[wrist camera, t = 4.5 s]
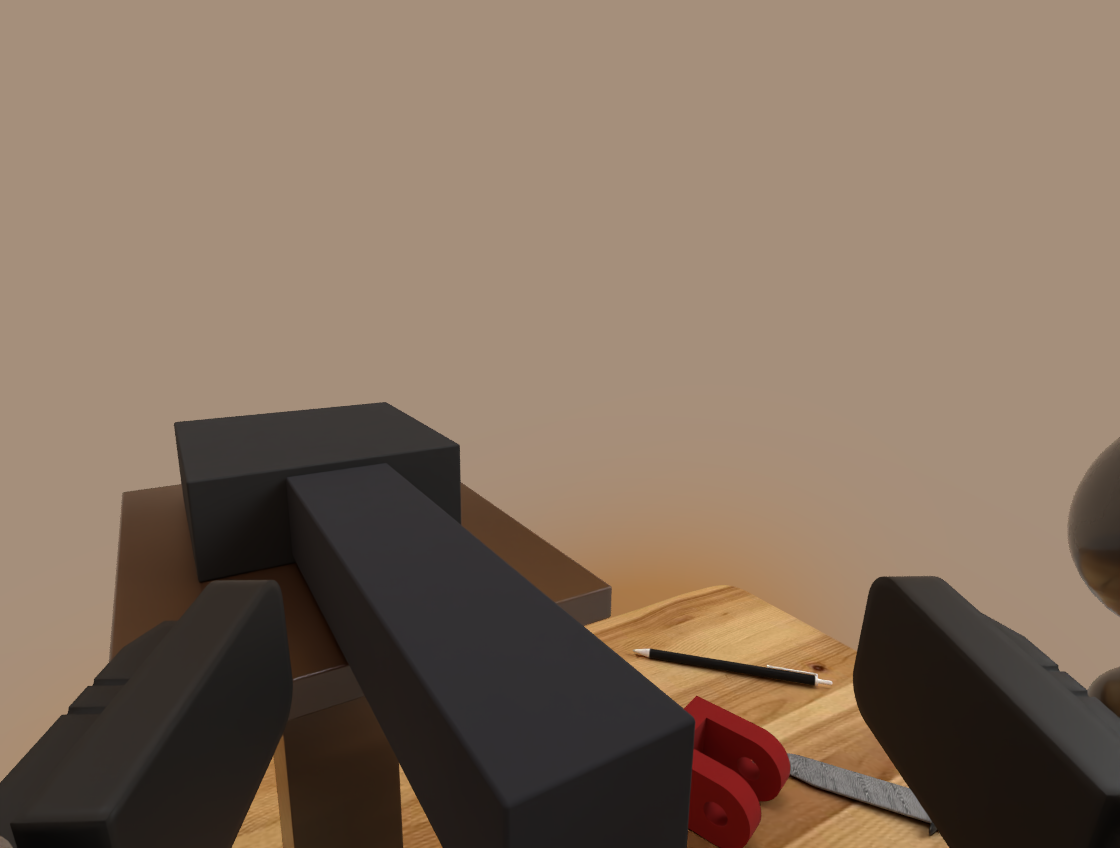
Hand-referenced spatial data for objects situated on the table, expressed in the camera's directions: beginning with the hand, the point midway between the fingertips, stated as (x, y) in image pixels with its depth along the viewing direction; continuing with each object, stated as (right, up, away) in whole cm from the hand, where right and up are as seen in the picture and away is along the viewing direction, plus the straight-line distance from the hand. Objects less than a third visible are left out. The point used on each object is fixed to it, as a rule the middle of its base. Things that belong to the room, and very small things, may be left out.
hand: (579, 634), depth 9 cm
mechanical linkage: (+8, -25, +43) cm, 50 cm away
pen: (+16, -22, +56) cm, 62 cm away
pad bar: (-5, -2, +9) cm, 11 cm away
